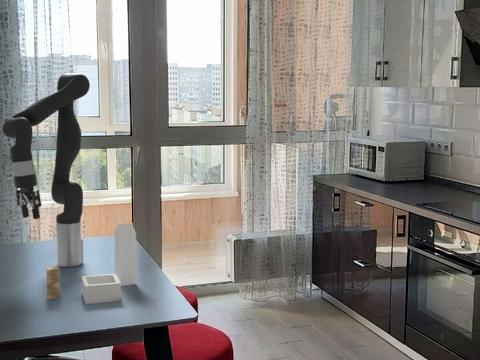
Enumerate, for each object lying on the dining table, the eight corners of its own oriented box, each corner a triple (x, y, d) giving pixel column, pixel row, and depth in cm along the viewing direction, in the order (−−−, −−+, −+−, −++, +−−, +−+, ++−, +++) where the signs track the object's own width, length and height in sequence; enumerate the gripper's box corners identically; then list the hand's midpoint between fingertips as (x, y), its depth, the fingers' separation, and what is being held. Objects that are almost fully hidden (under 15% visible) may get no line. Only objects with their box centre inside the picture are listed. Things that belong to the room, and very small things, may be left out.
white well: (85, 304, 197) (85, 286, 197) (81, 293, 208) (81, 276, 207) (120, 300, 201) (120, 283, 201) (115, 290, 212) (115, 273, 211)
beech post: (47, 299, 202) (46, 269, 200) (46, 295, 205) (46, 266, 204) (60, 298, 203) (59, 268, 202) (59, 294, 207) (58, 265, 205)
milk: (136, 284, 219) (136, 224, 216) (120, 286, 216) (119, 225, 213) (130, 279, 224) (130, 221, 221) (114, 281, 221) (114, 222, 218)
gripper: (43, 172, 216) (50, 217, 218) (25, 171, 226) (32, 214, 228) (23, 175, 210) (30, 221, 213) (5, 175, 221) (12, 219, 223)
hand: (31, 218), depth 220 cm, fingers open, 8 cm apart
